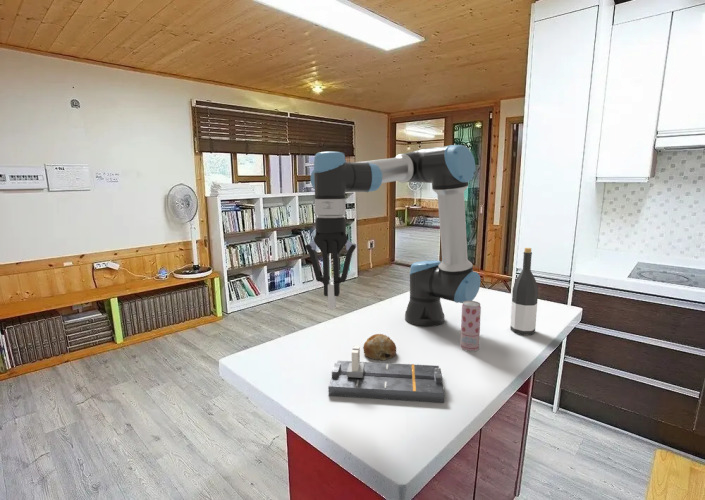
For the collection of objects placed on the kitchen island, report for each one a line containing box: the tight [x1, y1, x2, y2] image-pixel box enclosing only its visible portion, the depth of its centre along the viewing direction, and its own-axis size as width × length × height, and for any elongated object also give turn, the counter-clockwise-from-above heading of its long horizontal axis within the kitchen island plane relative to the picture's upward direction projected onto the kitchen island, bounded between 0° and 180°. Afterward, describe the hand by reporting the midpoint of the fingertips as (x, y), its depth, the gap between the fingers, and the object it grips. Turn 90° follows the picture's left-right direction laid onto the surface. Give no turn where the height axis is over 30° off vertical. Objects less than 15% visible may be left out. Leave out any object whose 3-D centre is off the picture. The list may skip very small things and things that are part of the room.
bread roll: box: [362, 333, 397, 361], centre depth 115 cm, size 10×10×8 cm
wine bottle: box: [510, 247, 539, 336], centre depth 130 cm, size 8×8×30 cm
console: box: [327, 360, 445, 404], centre depth 97 cm, size 28×14×4 cm, turn 82°
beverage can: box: [459, 300, 482, 353], centre depth 118 cm, size 6×6×15 cm
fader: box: [347, 345, 364, 378], centre depth 97 cm, size 4×5×7 cm
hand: (332, 307), depth 96 cm, fingers closed
